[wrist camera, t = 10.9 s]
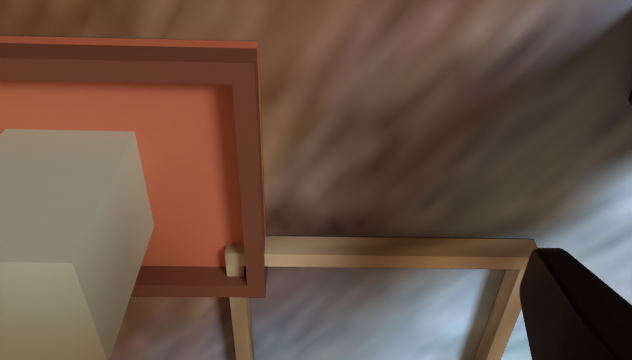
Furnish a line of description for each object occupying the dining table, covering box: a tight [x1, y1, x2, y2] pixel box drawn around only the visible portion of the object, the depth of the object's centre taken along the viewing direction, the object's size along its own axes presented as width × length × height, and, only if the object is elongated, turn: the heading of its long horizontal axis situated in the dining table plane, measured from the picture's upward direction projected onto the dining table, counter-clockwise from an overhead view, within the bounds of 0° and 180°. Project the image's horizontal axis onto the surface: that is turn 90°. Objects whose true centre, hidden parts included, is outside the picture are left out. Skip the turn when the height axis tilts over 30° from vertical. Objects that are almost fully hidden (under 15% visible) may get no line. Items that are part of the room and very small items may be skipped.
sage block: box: [0, 129, 154, 360], centre depth 20 cm, size 5×5×7 cm
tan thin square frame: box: [225, 236, 538, 360], centre depth 29 cm, size 15×15×1 cm
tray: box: [0, 36, 267, 298], centre depth 22 cm, size 15×12×2 cm
